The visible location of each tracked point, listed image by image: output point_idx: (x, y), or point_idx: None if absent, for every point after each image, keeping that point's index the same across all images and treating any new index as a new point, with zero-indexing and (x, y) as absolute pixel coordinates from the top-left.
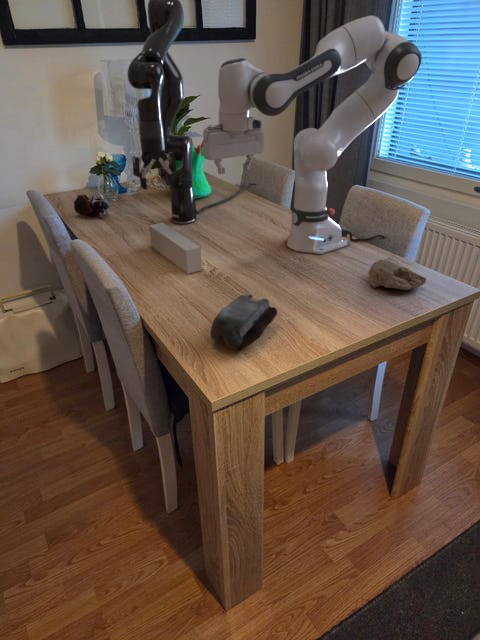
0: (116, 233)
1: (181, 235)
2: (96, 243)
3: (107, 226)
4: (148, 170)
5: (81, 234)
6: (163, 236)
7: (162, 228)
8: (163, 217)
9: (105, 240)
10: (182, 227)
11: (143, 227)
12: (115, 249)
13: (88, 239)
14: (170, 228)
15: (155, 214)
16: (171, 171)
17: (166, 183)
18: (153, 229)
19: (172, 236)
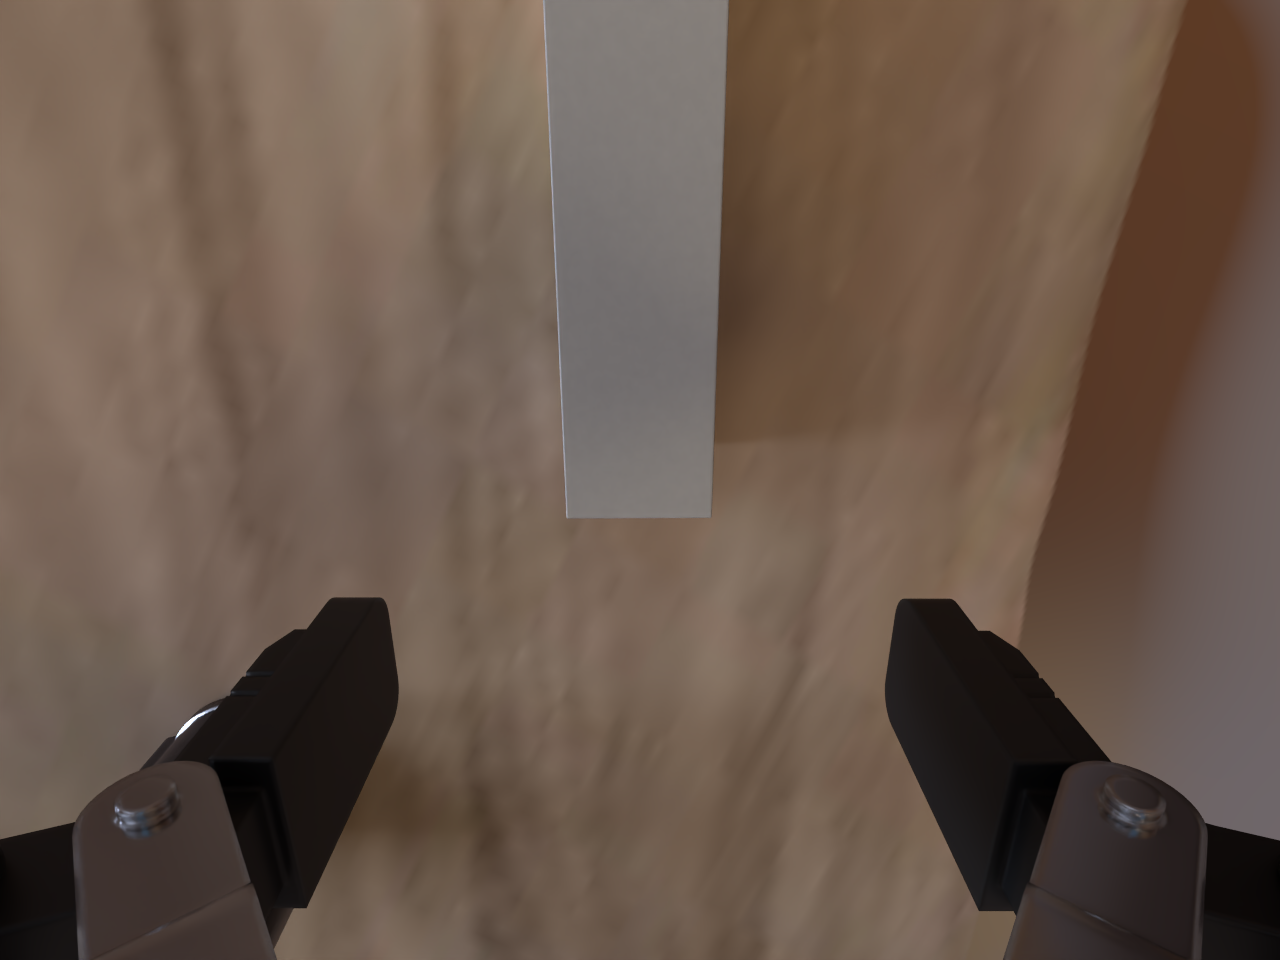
0: (790, 782)
1: (553, 23)
2: None
3: (781, 906)
4: (1061, 939)
5: None
6: (722, 166)
7: (640, 362)
8: (382, 876)
9: None
10: None
11: (583, 788)
12: (940, 536)
13: None
14: (566, 317)
15: (412, 941)
16: (78, 827)
17: (387, 699)
18: (713, 418)
19: (658, 58)
